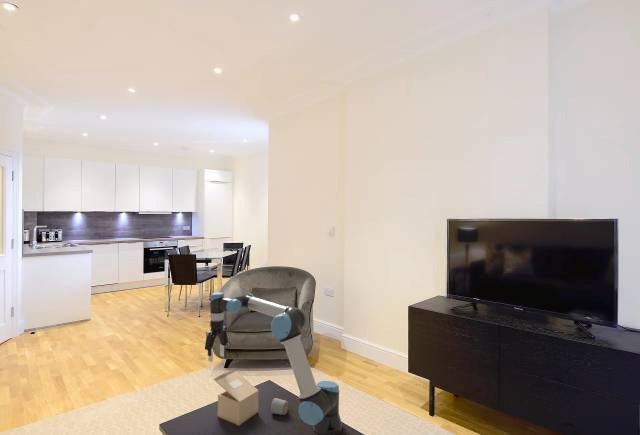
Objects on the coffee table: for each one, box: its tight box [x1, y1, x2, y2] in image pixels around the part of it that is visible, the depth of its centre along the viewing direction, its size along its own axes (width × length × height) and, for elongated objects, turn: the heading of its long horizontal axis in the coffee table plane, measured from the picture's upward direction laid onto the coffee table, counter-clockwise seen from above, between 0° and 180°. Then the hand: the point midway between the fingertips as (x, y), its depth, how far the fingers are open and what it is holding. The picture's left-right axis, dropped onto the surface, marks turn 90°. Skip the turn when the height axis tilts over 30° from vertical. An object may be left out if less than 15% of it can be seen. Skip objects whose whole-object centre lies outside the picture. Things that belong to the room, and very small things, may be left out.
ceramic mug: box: [270, 397, 289, 416], centre depth 199 cm, size 11×8×8 cm
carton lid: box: [213, 368, 259, 403], centre depth 196 cm, size 21×15×1 cm
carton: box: [217, 390, 259, 426], centre depth 196 cm, size 16×15×12 cm
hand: (216, 358), depth 205 cm, fingers open, 8 cm apart
